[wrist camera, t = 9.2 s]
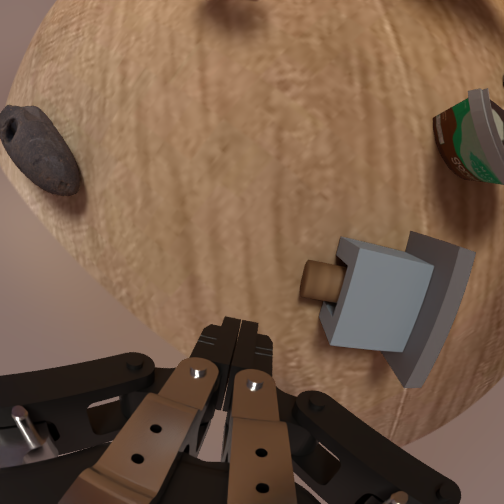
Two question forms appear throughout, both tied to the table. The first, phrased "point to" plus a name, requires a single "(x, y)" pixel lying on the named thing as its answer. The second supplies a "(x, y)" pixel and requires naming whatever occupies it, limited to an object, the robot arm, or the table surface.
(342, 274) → the dowel
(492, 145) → the ice cream tub
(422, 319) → the backstop wall
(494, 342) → the table surface
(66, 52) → the table surface
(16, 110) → the perforated stone tool
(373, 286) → the block
